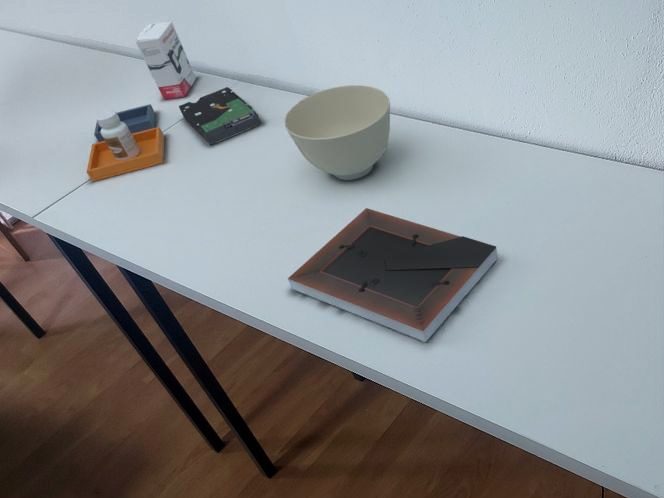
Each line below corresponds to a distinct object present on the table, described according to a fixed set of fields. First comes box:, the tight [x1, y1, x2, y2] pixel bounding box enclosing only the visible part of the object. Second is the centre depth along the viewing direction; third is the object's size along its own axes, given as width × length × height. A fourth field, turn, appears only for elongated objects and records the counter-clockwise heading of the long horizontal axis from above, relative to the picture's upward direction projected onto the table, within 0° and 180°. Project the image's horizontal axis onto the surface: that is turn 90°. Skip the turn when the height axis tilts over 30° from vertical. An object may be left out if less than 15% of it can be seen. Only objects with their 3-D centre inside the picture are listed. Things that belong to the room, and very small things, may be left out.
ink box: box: [135, 21, 197, 100], centre depth 128 cm, size 8×5×12 cm, turn 1°
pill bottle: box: [95, 109, 140, 161], centre depth 111 cm, size 4×4×8 cm
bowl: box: [283, 84, 391, 181], centre depth 99 cm, size 16×16×10 cm
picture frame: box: [287, 207, 498, 343], centre depth 82 cm, size 16×2×22 cm
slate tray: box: [93, 103, 156, 143], centre depth 122 cm, size 10×7×2 cm
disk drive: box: [178, 86, 261, 145], centre depth 119 cm, size 10×3×15 cm
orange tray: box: [86, 126, 165, 182], centre depth 114 cm, size 12×10×2 cm
